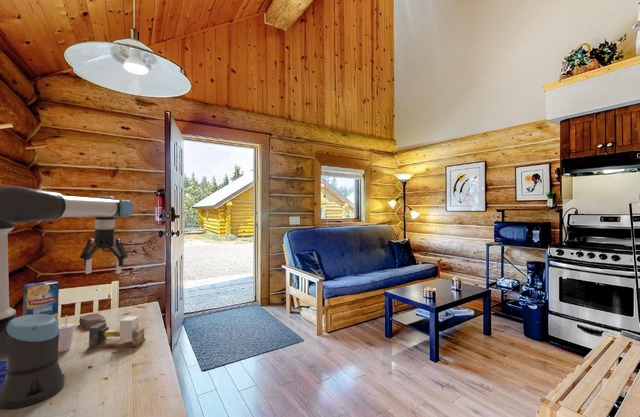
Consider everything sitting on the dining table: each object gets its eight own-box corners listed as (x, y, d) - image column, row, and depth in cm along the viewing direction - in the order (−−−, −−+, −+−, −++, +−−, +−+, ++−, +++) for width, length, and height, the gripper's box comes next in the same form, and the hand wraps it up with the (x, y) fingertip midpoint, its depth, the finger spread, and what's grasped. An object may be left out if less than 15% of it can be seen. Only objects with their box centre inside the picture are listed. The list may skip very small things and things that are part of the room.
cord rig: (145, 340, 130) (145, 322, 130) (136, 347, 123) (136, 328, 123) (99, 340, 129) (100, 322, 129) (88, 347, 122) (88, 328, 122)
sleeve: (138, 334, 128) (138, 316, 129) (131, 338, 124) (132, 320, 124) (126, 334, 128) (126, 316, 128) (119, 339, 123) (120, 320, 123)
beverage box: (57, 328, 141) (59, 282, 141) (26, 336, 132) (27, 287, 132) (53, 325, 145) (54, 280, 145) (22, 332, 136) (23, 285, 136)
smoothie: (62, 354, 116) (63, 318, 116) (49, 352, 117) (50, 317, 118) (78, 346, 122) (79, 313, 123) (66, 345, 124) (67, 312, 124)
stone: (86, 331, 139) (86, 321, 139) (77, 325, 145) (77, 316, 145) (108, 325, 146) (108, 315, 146) (98, 320, 153) (98, 311, 153)
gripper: (136, 228, 144) (135, 271, 143) (83, 227, 142) (81, 271, 142) (127, 229, 136) (126, 275, 136) (71, 228, 134) (69, 275, 134)
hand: (103, 273), depth 139 cm, fingers open, 13 cm apart
